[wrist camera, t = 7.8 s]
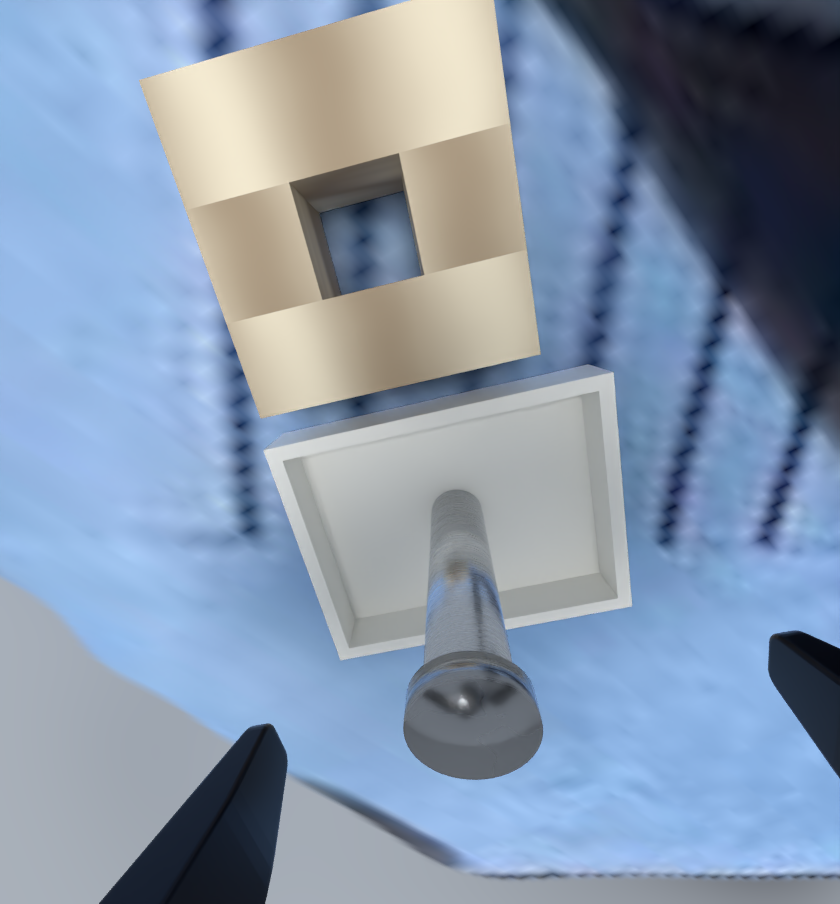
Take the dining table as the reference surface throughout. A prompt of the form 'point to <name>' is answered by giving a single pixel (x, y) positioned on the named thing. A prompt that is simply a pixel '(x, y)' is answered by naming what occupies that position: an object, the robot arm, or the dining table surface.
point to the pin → (467, 659)
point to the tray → (473, 470)
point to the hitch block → (355, 198)
